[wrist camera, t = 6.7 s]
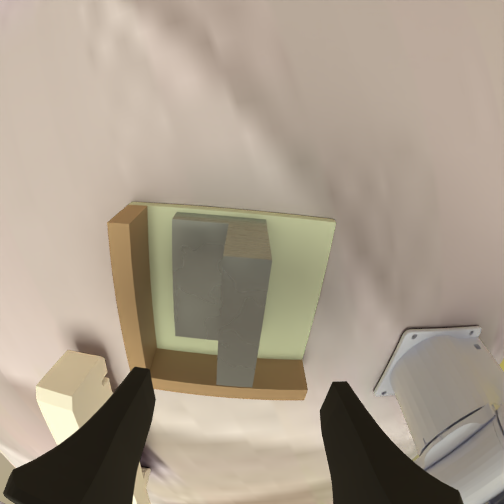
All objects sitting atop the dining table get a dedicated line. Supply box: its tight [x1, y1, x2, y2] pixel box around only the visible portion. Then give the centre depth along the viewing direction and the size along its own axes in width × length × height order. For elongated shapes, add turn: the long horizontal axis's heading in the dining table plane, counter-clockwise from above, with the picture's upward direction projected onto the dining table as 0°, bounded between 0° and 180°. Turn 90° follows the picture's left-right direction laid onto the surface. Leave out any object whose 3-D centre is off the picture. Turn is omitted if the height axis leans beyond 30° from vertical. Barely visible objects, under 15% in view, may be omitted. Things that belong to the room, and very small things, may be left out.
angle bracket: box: [172, 212, 272, 387], centre depth 16 cm, size 8×5×5 cm, turn 174°
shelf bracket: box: [36, 350, 151, 504], centre depth 24 cm, size 6×25×13 cm, turn 177°
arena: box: [107, 202, 336, 400], centre depth 18 cm, size 12×12×4 cm
